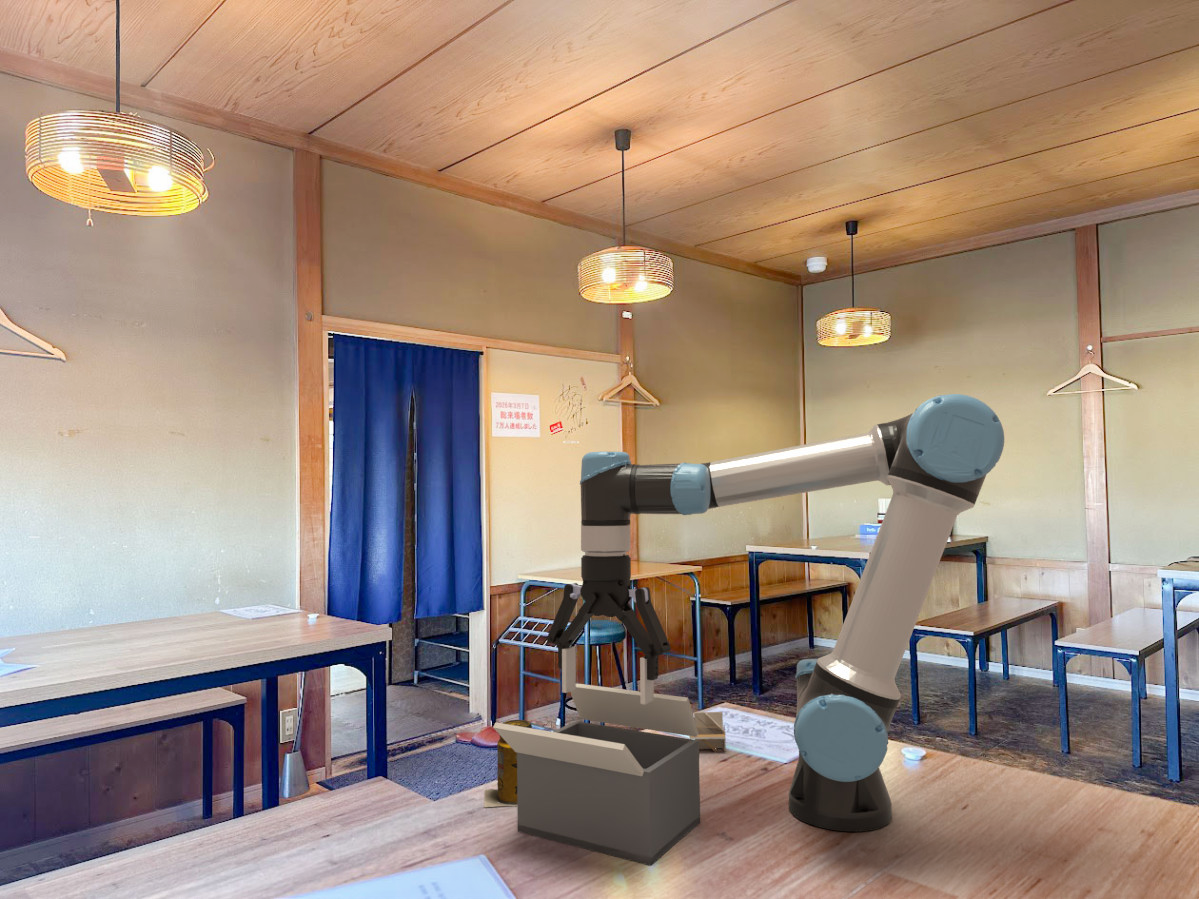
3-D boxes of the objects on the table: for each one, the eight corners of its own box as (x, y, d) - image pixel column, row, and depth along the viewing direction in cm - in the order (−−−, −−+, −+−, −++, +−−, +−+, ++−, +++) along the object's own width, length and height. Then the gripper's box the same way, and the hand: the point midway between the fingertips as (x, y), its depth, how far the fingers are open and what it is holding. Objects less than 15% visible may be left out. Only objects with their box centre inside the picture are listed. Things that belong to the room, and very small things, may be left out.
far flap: (696, 737, 119) (698, 733, 119) (686, 701, 116) (688, 697, 117) (580, 718, 129) (582, 715, 130) (568, 685, 127) (570, 682, 127)
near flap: (624, 744, 100) (622, 750, 100) (644, 770, 104) (642, 776, 104) (495, 722, 111) (493, 727, 110) (517, 747, 115) (515, 752, 114)
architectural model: (727, 756, 149) (726, 716, 149) (690, 757, 149) (689, 717, 149) (724, 750, 152) (723, 711, 153) (688, 751, 152) (687, 712, 153)
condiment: (537, 805, 125) (537, 728, 126) (484, 808, 124) (484, 731, 125) (535, 788, 132) (534, 716, 133) (484, 791, 131) (484, 718, 132)
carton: (700, 822, 117) (698, 740, 118) (650, 865, 103) (649, 772, 104) (576, 795, 128) (576, 721, 129) (517, 831, 115) (517, 747, 116)
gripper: (691, 554, 115) (693, 701, 114) (552, 550, 128) (552, 681, 127) (669, 557, 109) (671, 713, 108) (524, 552, 122) (524, 691, 121)
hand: (606, 696), depth 117 cm, fingers open, 13 cm apart
